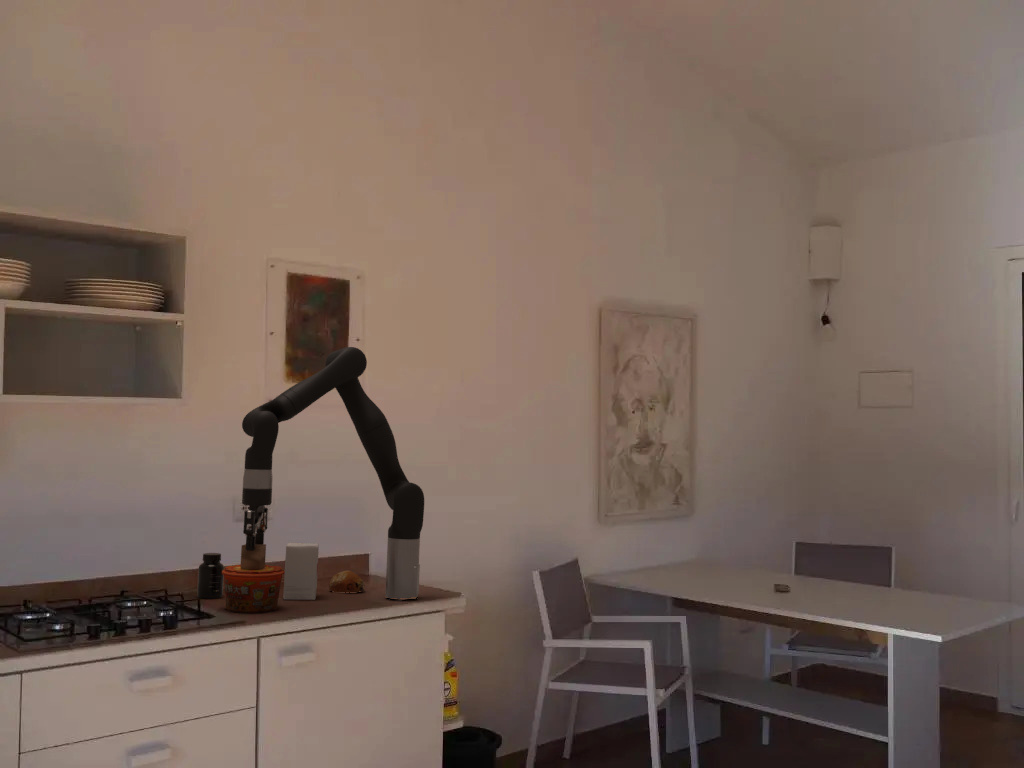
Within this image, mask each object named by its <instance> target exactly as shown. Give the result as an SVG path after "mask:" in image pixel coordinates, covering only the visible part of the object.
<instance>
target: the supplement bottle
mask: <svg viewBox="0 0 1024 768" xmlns="http://www.w3.org/2000/svg"><path fill="white" fill-rule="evenodd" d="M202 561H203V562H202V563H200V564H199V566H198V573H197V574H198V576H197V590H196V591H197V593H196V594H197V598H199V599H201V600H216V599H221V598H222V597H223V595H224V575H222V571H223V570H224V569H225V566H224V564H222V563H221V561H222V554H221V553H219V552H206V553H203V554H202Z"/></svg>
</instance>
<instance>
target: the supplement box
mask: <svg viewBox="0 0 1024 768" xmlns="http://www.w3.org/2000/svg"><path fill="white" fill-rule="evenodd" d="M319 546H320V545H319V543H314V542H313V543H307V542H306V543H305V542H301V543H299V542H288V543H287V544H286V546H285V558H284V559H285V560H284V561H285V562H284V563H285V564H284V572H285V573H284V575H283V576H284V579H283V596H282V597H283V598H282V600H287V601H292V600H293V601H294V600H296V601H298V600H299V601H300V600H301V601H305V600H306V601H315V600H316V597H317V588H318V587H317V585H318V572H319V571H318V570H319V568H318V567H319Z"/></svg>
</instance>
